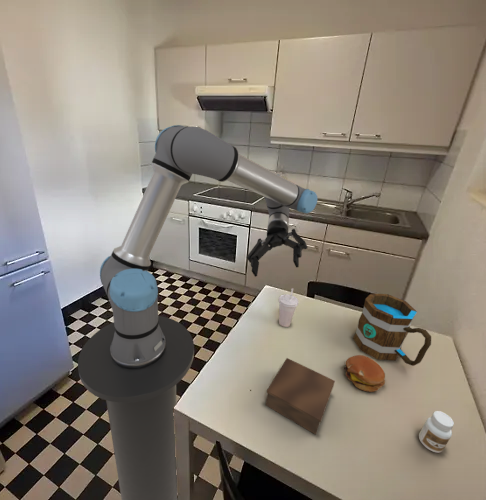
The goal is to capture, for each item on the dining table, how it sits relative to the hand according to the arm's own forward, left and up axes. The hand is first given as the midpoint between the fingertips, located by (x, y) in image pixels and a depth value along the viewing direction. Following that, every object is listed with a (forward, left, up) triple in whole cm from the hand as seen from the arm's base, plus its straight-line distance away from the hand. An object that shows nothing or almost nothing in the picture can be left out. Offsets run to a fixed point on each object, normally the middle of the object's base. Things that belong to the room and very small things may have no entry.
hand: (274, 269), depth 86 cm
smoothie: (+5, +4, -21) cm, 22 cm away
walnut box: (+19, -22, -21) cm, 36 cm away
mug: (+35, +10, -21) cm, 42 cm away
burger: (+31, -5, -21) cm, 38 cm away
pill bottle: (+46, -15, -21) cm, 53 cm away
